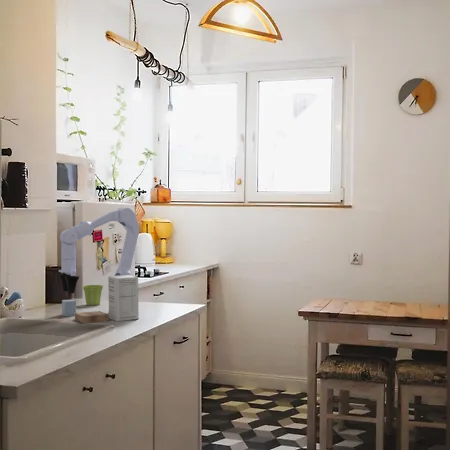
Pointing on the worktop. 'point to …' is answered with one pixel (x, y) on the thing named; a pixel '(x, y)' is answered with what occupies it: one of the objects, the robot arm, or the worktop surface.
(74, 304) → the slate block
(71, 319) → the worktop surface
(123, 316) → the supplement box
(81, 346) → the worktop surface
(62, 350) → the worktop surface
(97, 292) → the plant pot
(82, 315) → the tan flat square block
